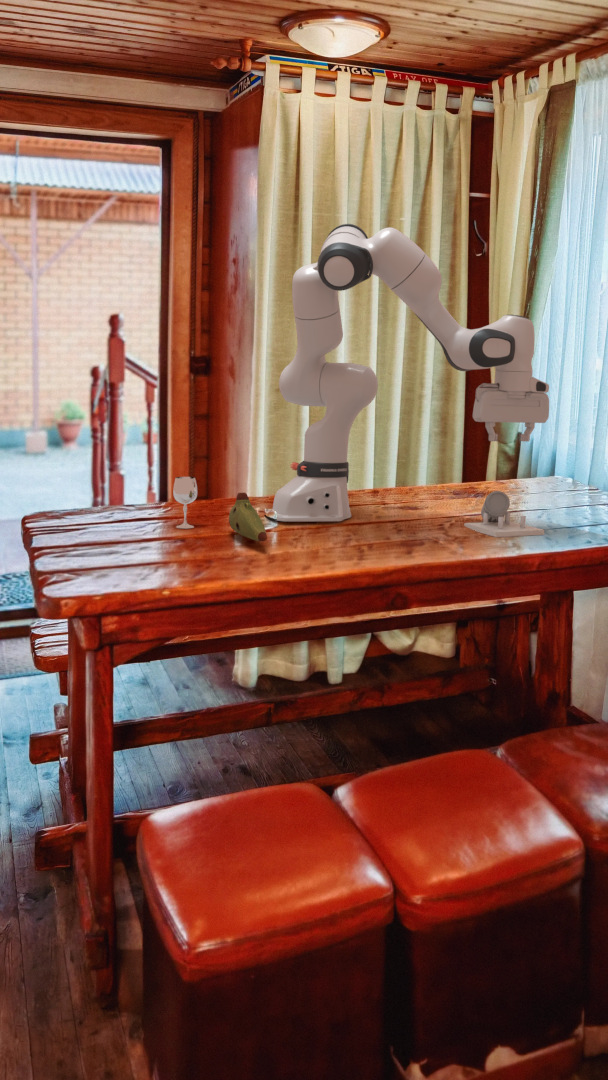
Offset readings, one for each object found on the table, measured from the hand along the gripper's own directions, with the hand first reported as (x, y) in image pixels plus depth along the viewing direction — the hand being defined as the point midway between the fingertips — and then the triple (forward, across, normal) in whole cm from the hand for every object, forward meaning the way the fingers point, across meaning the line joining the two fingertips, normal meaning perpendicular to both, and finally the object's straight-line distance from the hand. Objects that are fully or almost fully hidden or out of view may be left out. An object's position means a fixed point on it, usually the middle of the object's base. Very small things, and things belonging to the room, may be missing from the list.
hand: (509, 441), depth 221 cm
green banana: (+23, -65, +8) cm, 69 cm away
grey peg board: (+22, 0, 0) cm, 22 cm away
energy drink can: (+15, -2, 0) cm, 15 cm away
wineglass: (+23, -75, +25) cm, 82 cm away
